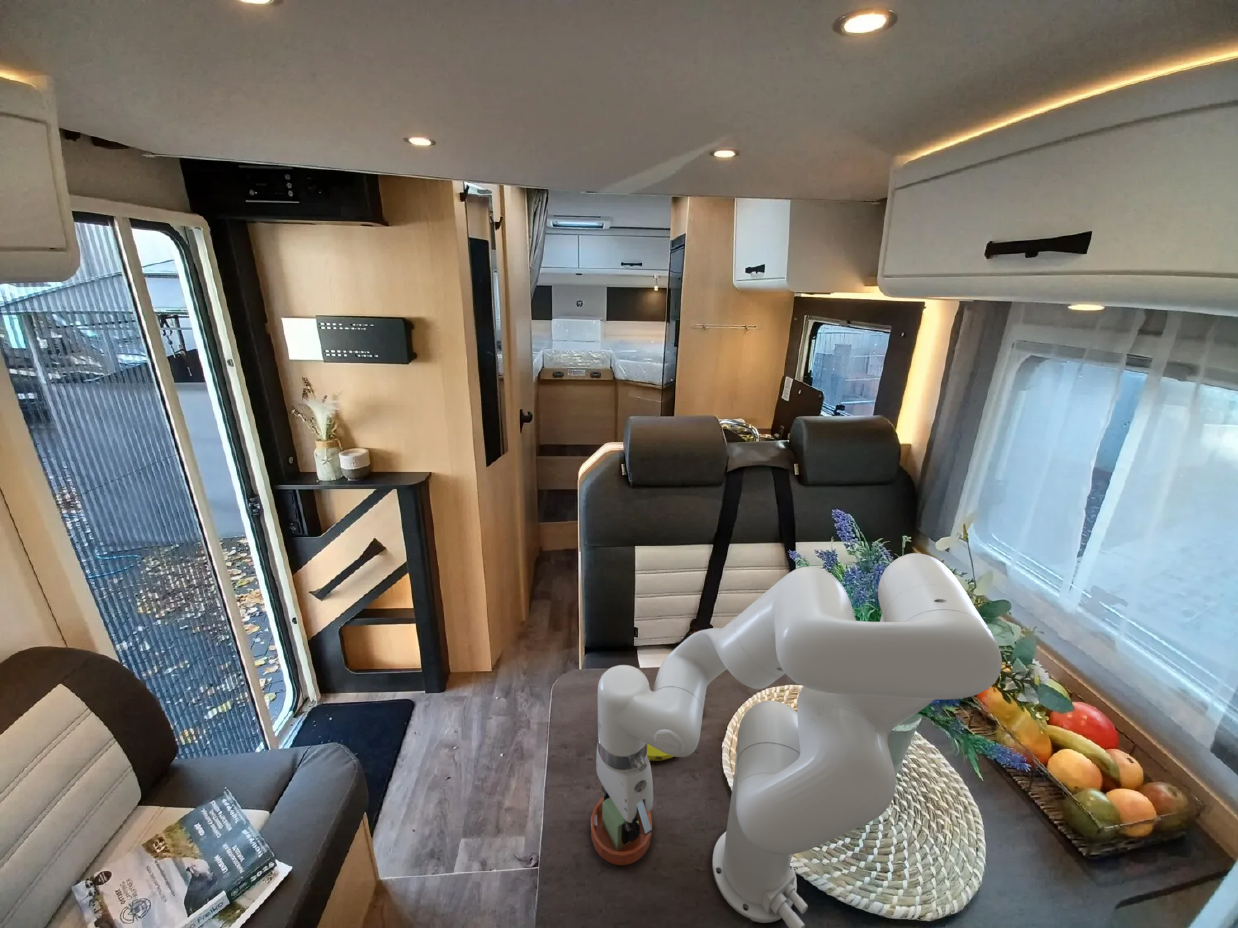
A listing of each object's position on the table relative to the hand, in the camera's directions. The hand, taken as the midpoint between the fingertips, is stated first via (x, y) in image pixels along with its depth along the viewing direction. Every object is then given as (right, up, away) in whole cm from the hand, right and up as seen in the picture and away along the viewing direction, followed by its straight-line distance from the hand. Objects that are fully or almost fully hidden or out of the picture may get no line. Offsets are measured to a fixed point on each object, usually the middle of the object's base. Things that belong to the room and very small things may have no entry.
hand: (621, 822), depth 79 cm
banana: (+4, +4, +19) cm, 20 cm away
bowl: (0, -3, +1) cm, 3 cm away
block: (0, -2, +1) cm, 2 cm away
